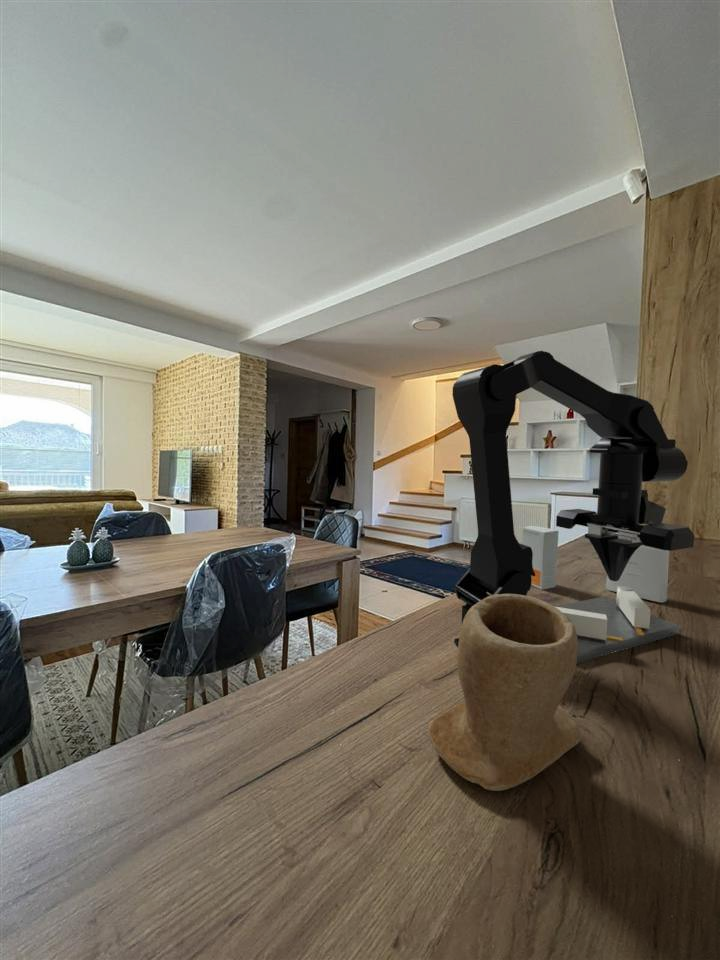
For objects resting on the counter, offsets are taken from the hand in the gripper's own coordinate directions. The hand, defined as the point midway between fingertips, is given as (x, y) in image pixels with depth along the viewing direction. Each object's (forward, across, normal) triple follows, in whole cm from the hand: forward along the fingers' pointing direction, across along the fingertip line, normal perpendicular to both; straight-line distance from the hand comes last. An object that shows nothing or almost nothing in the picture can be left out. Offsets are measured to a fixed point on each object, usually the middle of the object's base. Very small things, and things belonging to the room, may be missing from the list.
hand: (614, 580), depth 66 cm
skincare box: (+8, +20, -6) cm, 23 cm away
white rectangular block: (+6, 0, +11) cm, 12 cm away
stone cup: (+8, -14, +34) cm, 38 cm away
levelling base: (+8, +1, +4) cm, 9 cm away
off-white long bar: (+6, 0, -4) cm, 7 cm away
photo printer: (+8, +8, -19) cm, 22 cm away
